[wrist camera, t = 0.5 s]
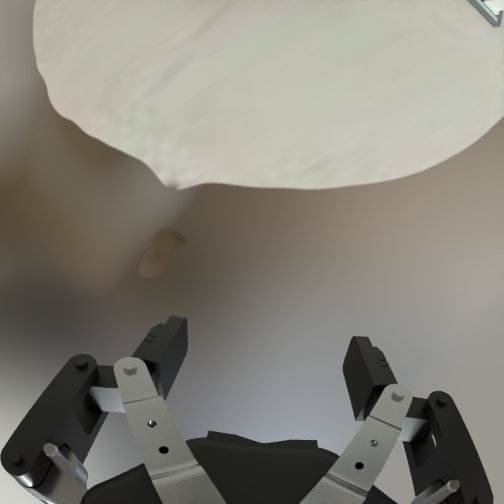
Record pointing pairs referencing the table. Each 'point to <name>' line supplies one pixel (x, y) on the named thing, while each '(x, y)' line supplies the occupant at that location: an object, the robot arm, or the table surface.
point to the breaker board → (490, 10)
